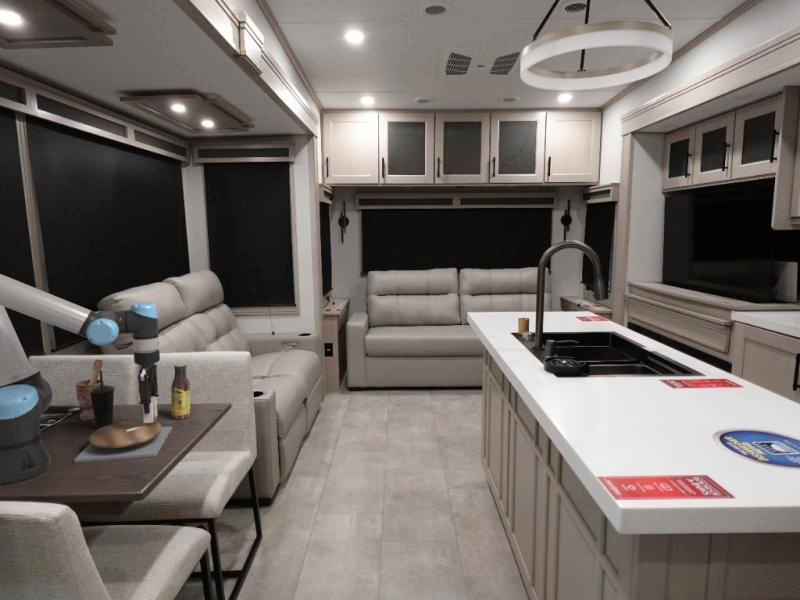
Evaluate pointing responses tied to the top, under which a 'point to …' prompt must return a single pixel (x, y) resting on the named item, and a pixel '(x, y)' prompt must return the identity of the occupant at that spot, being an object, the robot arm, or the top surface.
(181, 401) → the sauce bottle
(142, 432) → the handwheel
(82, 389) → the mortar and pestle
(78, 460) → the wheel stand
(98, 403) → the drinking cup
